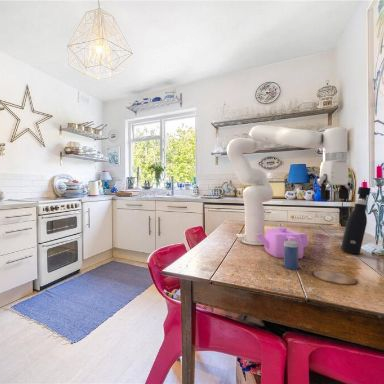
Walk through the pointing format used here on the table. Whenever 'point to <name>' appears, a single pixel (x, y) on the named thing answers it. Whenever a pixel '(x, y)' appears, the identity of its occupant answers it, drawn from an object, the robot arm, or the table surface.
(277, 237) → the teakettle
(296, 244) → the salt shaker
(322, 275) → the coaster
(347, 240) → the black water bottle
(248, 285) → the table surface
